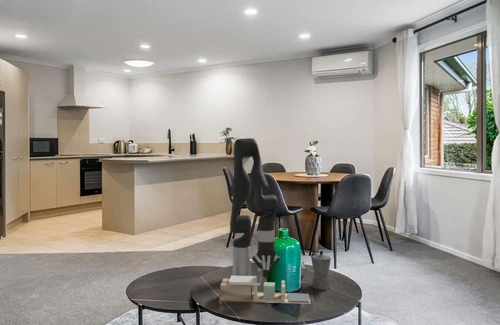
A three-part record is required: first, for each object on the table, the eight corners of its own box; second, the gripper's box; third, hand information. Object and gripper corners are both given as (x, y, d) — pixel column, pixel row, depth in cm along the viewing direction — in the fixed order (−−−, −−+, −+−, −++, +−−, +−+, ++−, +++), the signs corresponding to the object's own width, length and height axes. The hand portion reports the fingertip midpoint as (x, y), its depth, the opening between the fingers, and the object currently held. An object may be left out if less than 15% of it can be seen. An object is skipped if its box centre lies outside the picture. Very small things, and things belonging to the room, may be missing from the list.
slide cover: (231, 277, 184) (231, 266, 184) (261, 278, 183) (261, 267, 183) (228, 284, 175) (228, 273, 175) (260, 285, 174) (260, 273, 174)
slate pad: (287, 294, 183) (287, 293, 182) (307, 294, 182) (307, 293, 182) (288, 301, 174) (288, 300, 174) (309, 302, 173) (309, 301, 173)
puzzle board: (222, 294, 186) (222, 277, 186) (308, 296, 183) (308, 279, 183) (218, 304, 174) (218, 286, 174) (310, 307, 171) (310, 289, 171)
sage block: (263, 295, 181) (263, 282, 181) (274, 295, 181) (274, 282, 181) (263, 299, 176) (263, 285, 176) (274, 299, 176) (274, 286, 176)
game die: (301, 282, 214) (312, 267, 215) (298, 281, 206) (309, 265, 207) (288, 271, 218) (299, 257, 219) (284, 270, 210) (295, 255, 211)
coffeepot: (336, 290, 192) (337, 253, 192) (320, 292, 189) (320, 255, 188) (319, 280, 207) (319, 246, 206) (303, 282, 203) (303, 247, 202)
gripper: (280, 237, 181) (280, 275, 182) (252, 237, 182) (251, 274, 183) (281, 241, 174) (280, 280, 174) (251, 241, 175) (250, 280, 175)
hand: (266, 277), depth 179 cm, fingers closed
